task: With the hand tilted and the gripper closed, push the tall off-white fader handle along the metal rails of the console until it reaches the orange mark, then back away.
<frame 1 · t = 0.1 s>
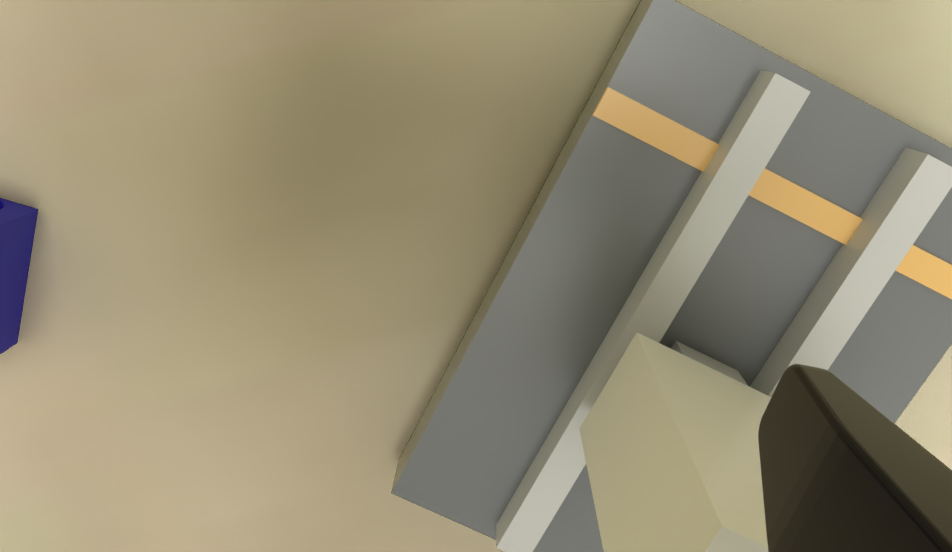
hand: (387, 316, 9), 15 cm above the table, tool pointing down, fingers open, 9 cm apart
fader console: (685, 332, 26), on the table
fader handle: (735, 491, 19), point 8 cm above the table, slide at 0.0 cm
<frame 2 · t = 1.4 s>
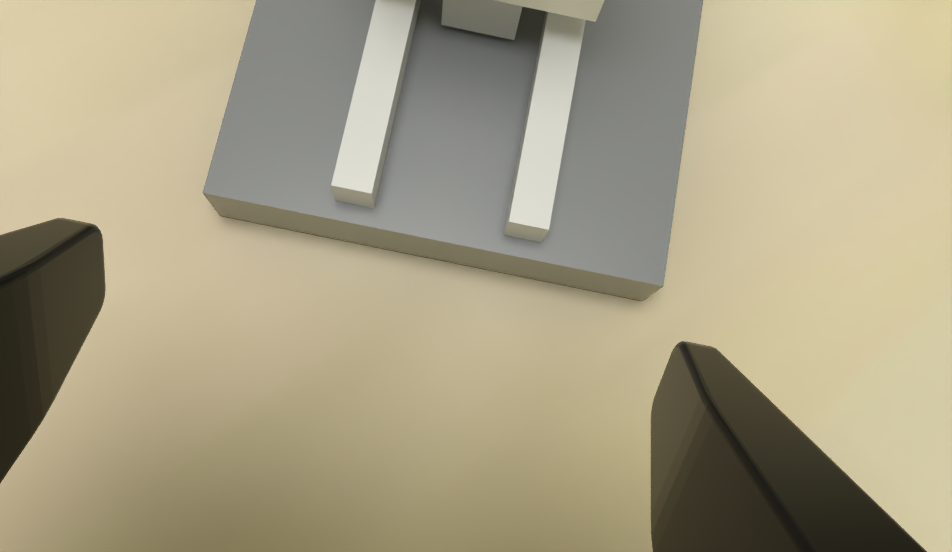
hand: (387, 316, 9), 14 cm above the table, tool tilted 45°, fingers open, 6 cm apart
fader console: (485, 5, 25), on the table
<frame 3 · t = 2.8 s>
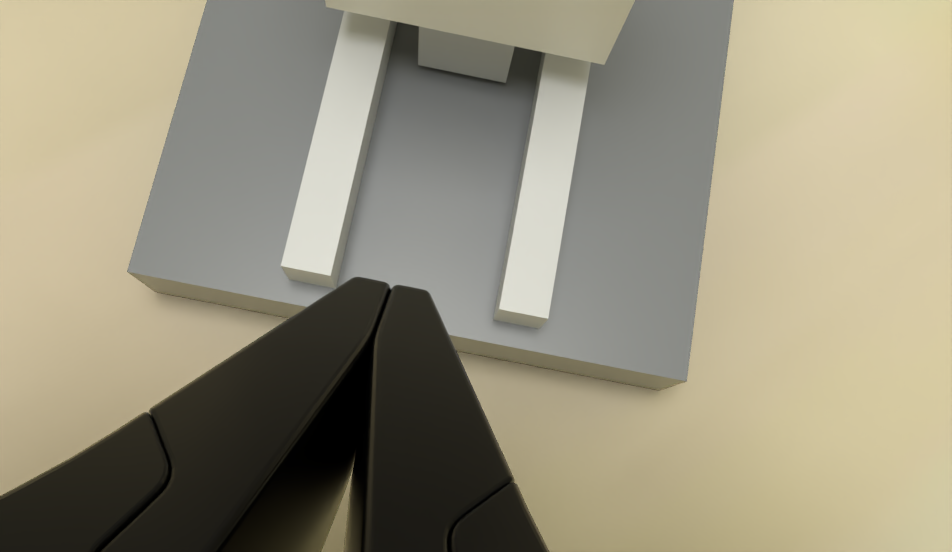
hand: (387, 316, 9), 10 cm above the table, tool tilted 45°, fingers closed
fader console: (472, 38, 22), on the table
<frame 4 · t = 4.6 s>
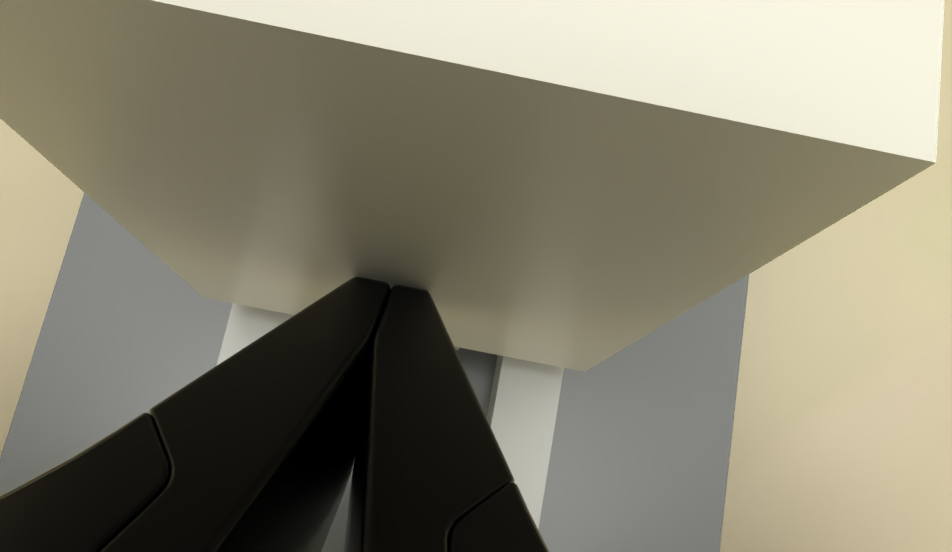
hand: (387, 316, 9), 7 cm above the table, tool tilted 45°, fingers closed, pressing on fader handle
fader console: (411, 310, 17), on the table
fader handle: (418, 161, 10), point 8 cm above the table, slide at 1.2 cm, touching gripper
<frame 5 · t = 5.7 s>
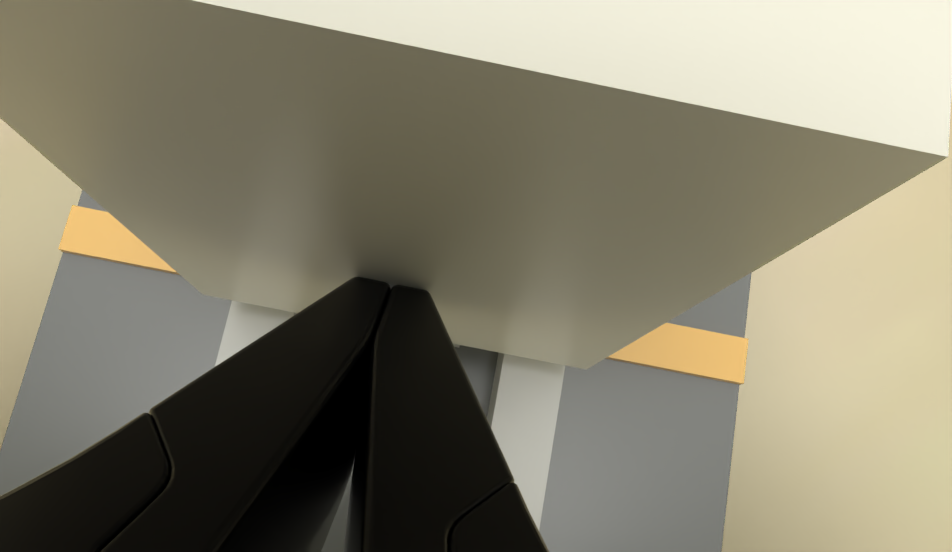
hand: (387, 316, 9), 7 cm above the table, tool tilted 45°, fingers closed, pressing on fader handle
fader handle: (419, 157, 9), point 8 cm above the table, slide at 6.4 cm, touching gripper
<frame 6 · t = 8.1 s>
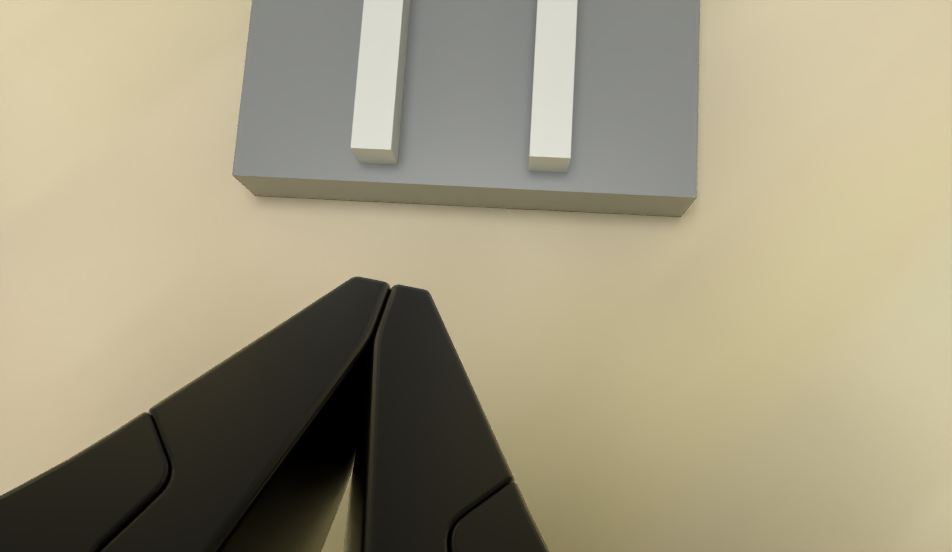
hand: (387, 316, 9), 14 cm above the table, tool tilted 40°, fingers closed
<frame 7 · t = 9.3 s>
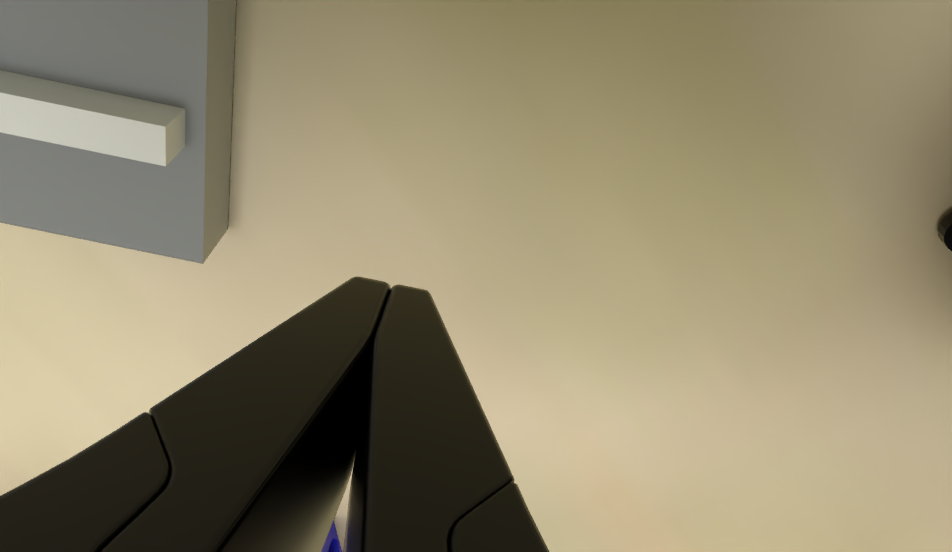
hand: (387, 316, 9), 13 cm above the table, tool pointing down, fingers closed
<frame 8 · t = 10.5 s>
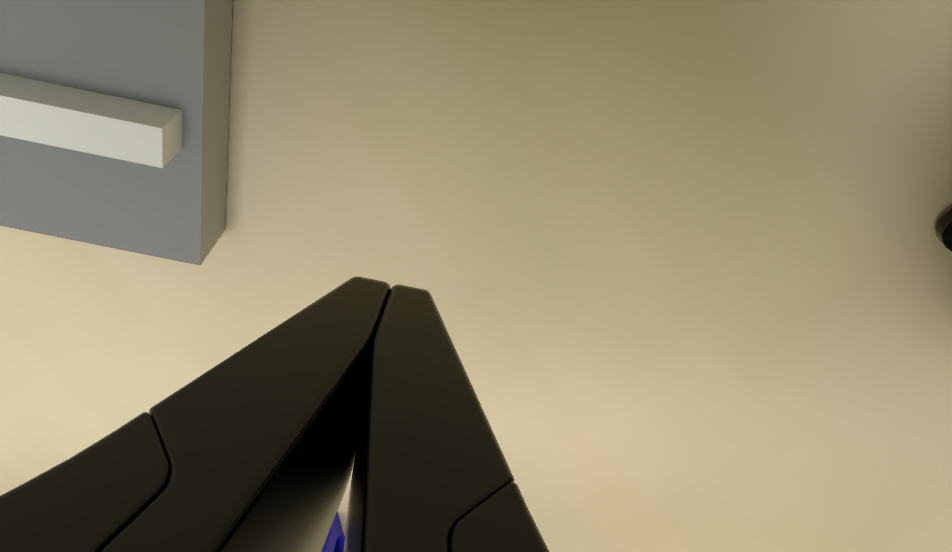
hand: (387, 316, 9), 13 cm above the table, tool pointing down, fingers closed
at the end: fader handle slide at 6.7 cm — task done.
